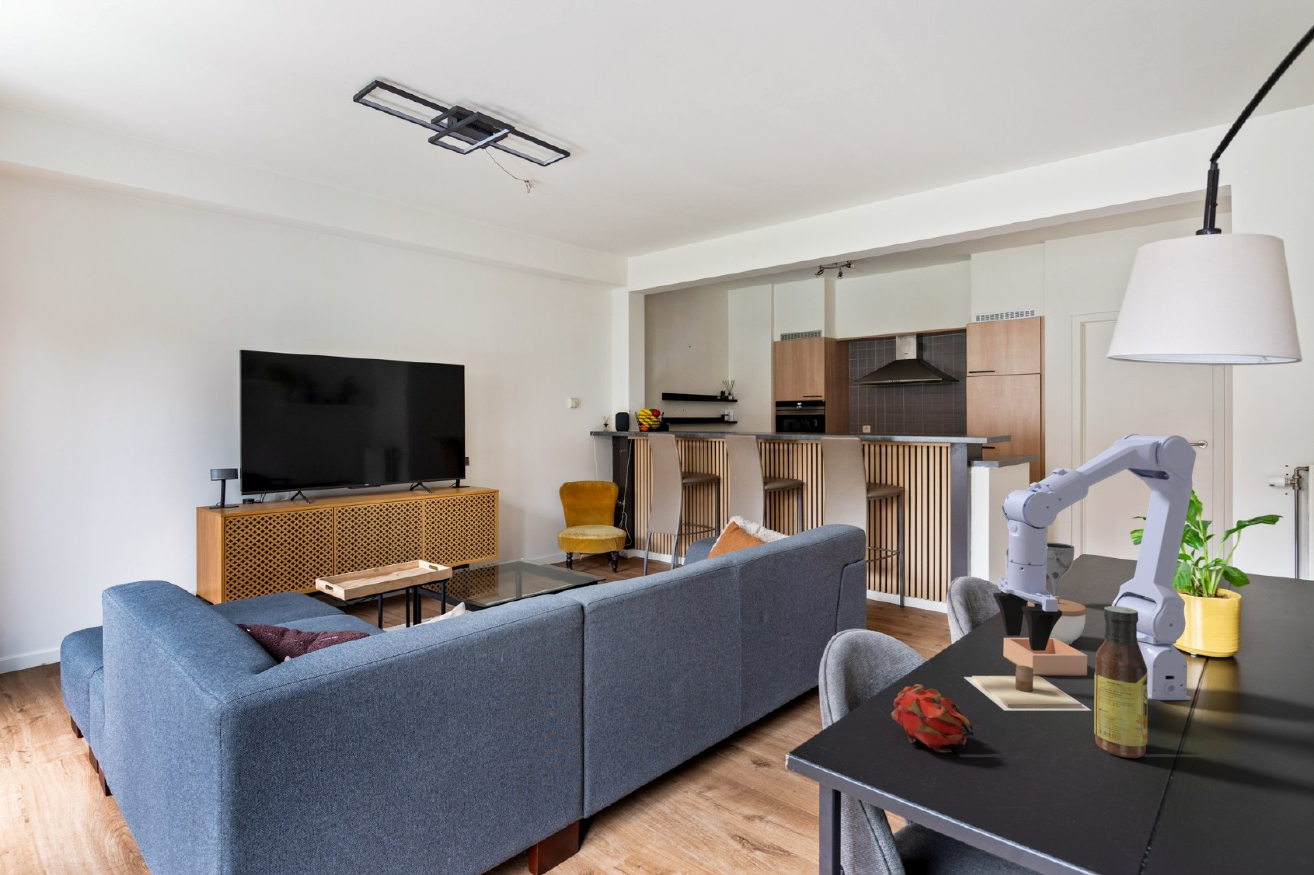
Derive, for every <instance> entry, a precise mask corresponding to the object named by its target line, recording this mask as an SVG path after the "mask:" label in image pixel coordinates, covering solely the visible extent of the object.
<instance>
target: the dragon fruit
mask: <svg viewBox="0 0 1314 875" xmlns="http://www.w3.org/2000/svg"><path fill="white" fill-rule="evenodd" d="M893 707H894V709H893V711H891V713H890V714H889V716H890V717H891V719H892V721H894V722H897V724H899V725H900V726H903V729H904V732H905V735H906V737H907V739H908V741H909V743H910V744H912V743H913V744H914V743H915V742H916V739H917V740H918V741H920V742H921V743H923V744H925V745H926V746H927V747H929V748H930V749H933V751H935V752H939V753H944V754H945V753H953V751H952V750H951V749H949V748H946V747H942V746H943V745H944V746H945V745H946V746H948V745H959V744H960V745H963V746H964V745H965V744H966V742H967V736H971V737H974V736H975V734H974V731H973V730H974V729H977V728H974V727H973V726H972V724H971V721H970V720H969V719H968V718H967V717H966V716H965V715H964V714H963V712H961V711H960V706H959V705H958V704H957V703H955V701H953V700H951V699H949V698H946V697H942V694H941V693H940V692H939V691H938V689H934V688H933V687H931V688H928V689H926V688H925V686H924V685H923V684H921V683H920V684H919V683H915V684H914V685H912V686H908V685H907V686H905V687H904V688H903V689H902V690H901V691H900V692H898V694H897V696H896V698H895V699H894V701H893ZM954 708H955V710H954ZM971 730H972V731H971Z"/></svg>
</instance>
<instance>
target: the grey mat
mask: <svg viewBox="0 0 1314 875" xmlns="http://www.w3.org/2000/svg"><path fill="white" fill-rule="evenodd" d="M963 679H965V680H966V681H967V682H969V683H970V684H971V685H972V686H973V687H975V688H976V689H978V690H979V692H981V693H982V694H984V695H985V696H986V697H987V698H988V699H989V700H991V701H992V702H993V703H995V705H997V706H998V707H999V708H1001V709H1002V710H1003V711H1006V712H1007V711H1009V712H1010V711H1012V712H1013V711H1015V712H1018V711H1021V712H1022V711H1023V712H1024V711H1025V712H1027V711H1028V712H1029V711H1030V712H1033V711H1034V712H1036V711H1037V712H1038V711H1039V712H1040V711H1041V712H1043V711H1044V712H1045V711H1046V712H1051V711H1052V712H1054V711H1055V712H1056V711H1057V712H1059V711H1062V712H1063V711H1064V712H1065V711H1067V712H1068V711H1070V712H1073V711H1075V712H1078V711H1079V712H1082V711H1083V712H1084V711H1085V712H1088V711H1090V712H1091V711H1092V709H1090V708H1089V707H1088V706H1086V705H1084V703H1083V704H1082V703H1081V702H1080V701H1078V700H1077V699H1075V698H1074V697H1072V696H1070V695H1069V696H1070V697H1072V698H1073V699H1075V700H1076V701H1078V702H1079V703H1081V704H1082V708H1007V707H1006V706H1005V705H1004V704H1002V703H1001V702H1000V701H999V700H997V699H996V698H995V697H994V696H992V695H991V694H990V693H989V692H987V691H986V690H985V689H983V688H982V687H981V686H980V685H978V684H977V683H976V682H975V681H973V680H972V676H964V677H963ZM1049 683H1050V684H1052V683H1051V682H1049ZM1052 685H1053V686H1055V685H1054V684H1052ZM1055 687H1056V688H1058V687H1057V686H1055ZM1058 689H1059V688H1058ZM1059 690H1061V689H1059ZM1061 691H1062V690H1061ZM1062 692H1064V691H1062Z"/></svg>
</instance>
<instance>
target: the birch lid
mask: <svg viewBox="0 0 1314 875" xmlns="http://www.w3.org/2000/svg"><path fill="white" fill-rule="evenodd" d="M971 677H972V680H973V681H975V682H976V683H977V684H978V685H980V686H981V687H982V688H983V689H985V690H986V691H987V692H989V693H990V694H991V695H992V696H994V697H995V698H996V699H997V700H999V701H1000V702H1001V703H1002V704H1004V705H1005V706H1006V707H1007V708H1082V703H1081V702H1080V701H1078V700H1077V699H1075V698H1074V697H1072V696H1071V697H1070V695H1069V694H1067V693H1066V692H1064V691H1063V692H1062V690H1061V689H1060V690H1059V688H1058V687H1057V686H1056V685H1054V684H1052V683H1051V682H1049V681H1048V680H1046V679H1044V678H1043V677H1041V676H1040V675H1033V668H1031V667H1028V666H1022V665H1018V666H1017V665H1015V675H972V676H971ZM1050 683H1051V684H1050ZM1053 685H1054V686H1053ZM1056 687H1057V688H1056ZM1073 698H1074V699H1073ZM1076 700H1077V701H1076ZM1079 702H1080V703H1079Z"/></svg>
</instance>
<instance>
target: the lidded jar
mask: <svg viewBox="0 0 1314 875" xmlns="http://www.w3.org/2000/svg"><path fill="white" fill-rule="evenodd" d="M1054 598H1056V599H1058V609H1059V610H1061V611H1062V616H1061V617H1060V619H1059V620H1058V621H1057V623H1056V624H1055V626H1054V628H1053V630H1052V632H1051V635H1050V637H1049V638H1056V639H1057V640H1059V641H1061V642H1063V643H1065V644H1067V645H1069V644H1070V645H1072V644H1073V642H1074V641H1076V640H1077V639H1078V638H1080V637H1081V635H1082V633H1083V631H1084V628H1085V625H1086V614H1087V607H1086V606H1085V605H1083V604H1081V603H1079V602H1076V601H1071V600H1067V599H1062V598H1060V596H1059V595H1057V596H1054ZM1027 606H1033V607H1034V604H1033V603H1031V602H1029V601H1028V602H1027ZM1070 645H1069V646H1070Z"/></svg>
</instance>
